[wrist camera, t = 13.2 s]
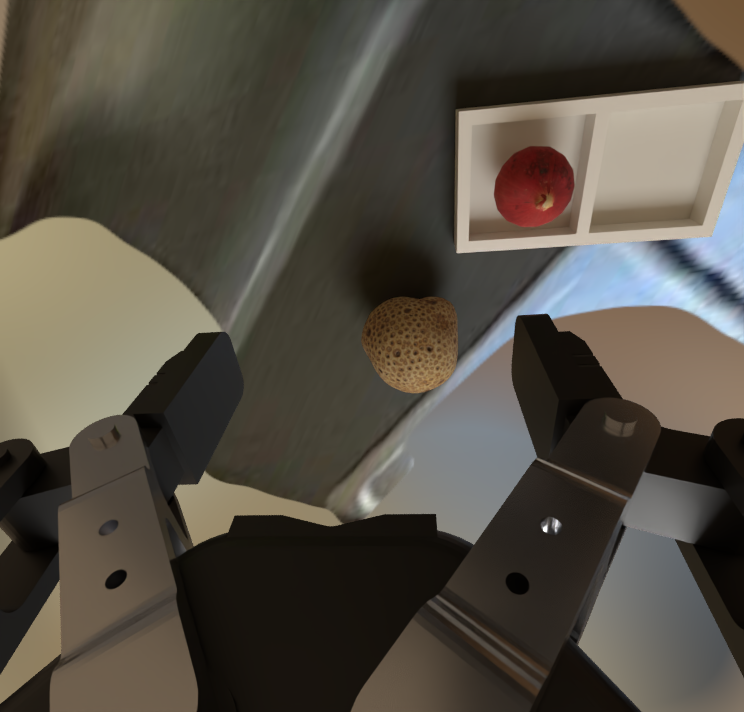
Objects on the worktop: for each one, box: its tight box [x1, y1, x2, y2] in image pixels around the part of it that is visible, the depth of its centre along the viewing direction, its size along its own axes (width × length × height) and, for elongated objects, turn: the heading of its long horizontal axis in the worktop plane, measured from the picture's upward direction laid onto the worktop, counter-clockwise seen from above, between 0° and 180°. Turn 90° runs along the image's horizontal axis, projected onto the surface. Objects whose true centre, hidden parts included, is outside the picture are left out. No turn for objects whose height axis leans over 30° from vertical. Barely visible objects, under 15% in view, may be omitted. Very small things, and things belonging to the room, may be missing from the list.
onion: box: [494, 146, 575, 227], centre depth 33 cm, size 6×6×8 cm
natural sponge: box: [361, 297, 458, 393], centre depth 41 cm, size 9×9×10 cm
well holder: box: [454, 81, 744, 253], centre depth 35 cm, size 11×21×3 cm, turn 95°
